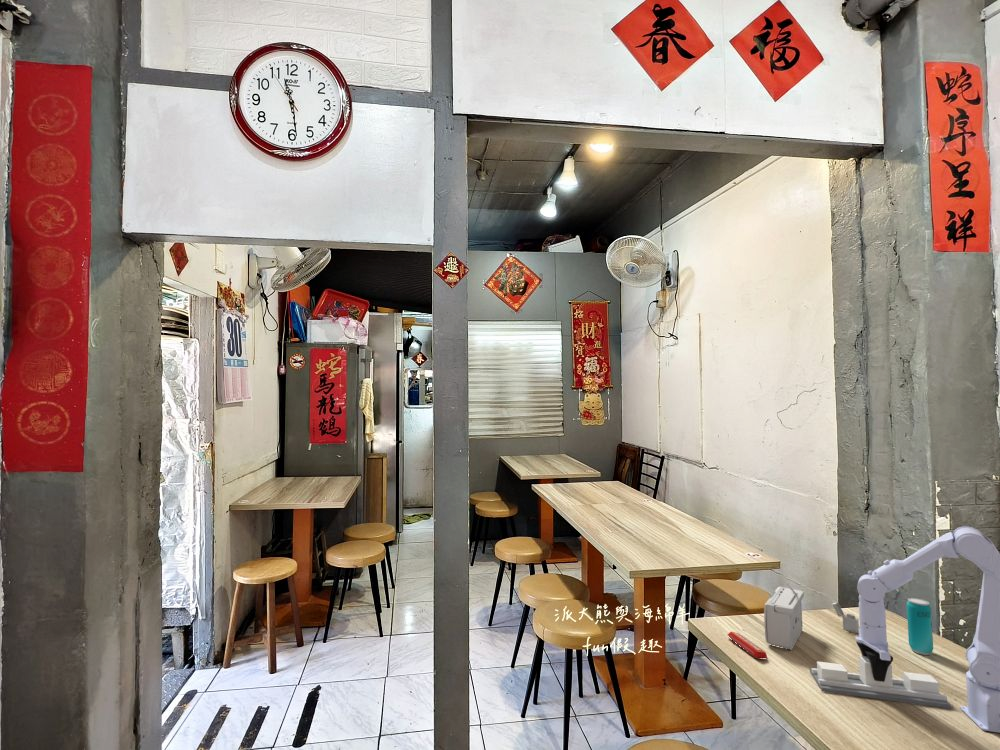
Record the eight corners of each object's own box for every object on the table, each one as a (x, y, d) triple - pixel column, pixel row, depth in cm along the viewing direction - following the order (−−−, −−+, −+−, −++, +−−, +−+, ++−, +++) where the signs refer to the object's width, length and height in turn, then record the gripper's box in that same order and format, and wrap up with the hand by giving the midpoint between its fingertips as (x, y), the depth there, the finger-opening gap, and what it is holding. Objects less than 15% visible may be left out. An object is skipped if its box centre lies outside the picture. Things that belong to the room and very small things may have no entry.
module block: (892, 690, 131) (891, 665, 131) (865, 686, 133) (864, 661, 133) (885, 681, 135) (884, 657, 135) (859, 678, 136) (858, 654, 137)
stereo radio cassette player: (778, 624, 174) (776, 564, 176) (806, 630, 169) (803, 569, 171) (764, 646, 158) (761, 580, 160) (794, 654, 153) (791, 586, 154)
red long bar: (770, 662, 149) (769, 651, 149) (758, 663, 148) (758, 652, 148) (736, 638, 165) (735, 628, 165) (725, 639, 164) (725, 629, 164)
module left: (848, 685, 134) (847, 671, 134) (822, 682, 135) (821, 668, 136) (842, 677, 138) (841, 664, 138) (817, 674, 139) (816, 661, 140)
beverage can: (938, 657, 151) (935, 605, 152) (916, 655, 152) (913, 603, 153) (926, 648, 157) (923, 598, 158) (905, 646, 158) (902, 596, 159)
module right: (939, 697, 128) (938, 682, 128) (911, 693, 130) (910, 679, 130) (930, 688, 132) (930, 675, 132) (903, 685, 134) (902, 671, 134)
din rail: (951, 708, 125) (950, 700, 125) (821, 691, 133) (821, 683, 133) (929, 687, 135) (929, 679, 135) (810, 672, 142) (809, 665, 143)
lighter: (859, 632, 168) (858, 607, 169) (857, 633, 167) (856, 608, 167) (834, 624, 174) (833, 600, 174) (833, 626, 173) (831, 602, 173)
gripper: (845, 610, 143) (847, 660, 142) (866, 632, 129) (869, 688, 128) (874, 613, 141) (877, 664, 140) (899, 635, 127) (902, 692, 126)
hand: (875, 676), depth 134 cm, fingers closed on module block, 4 cm apart
